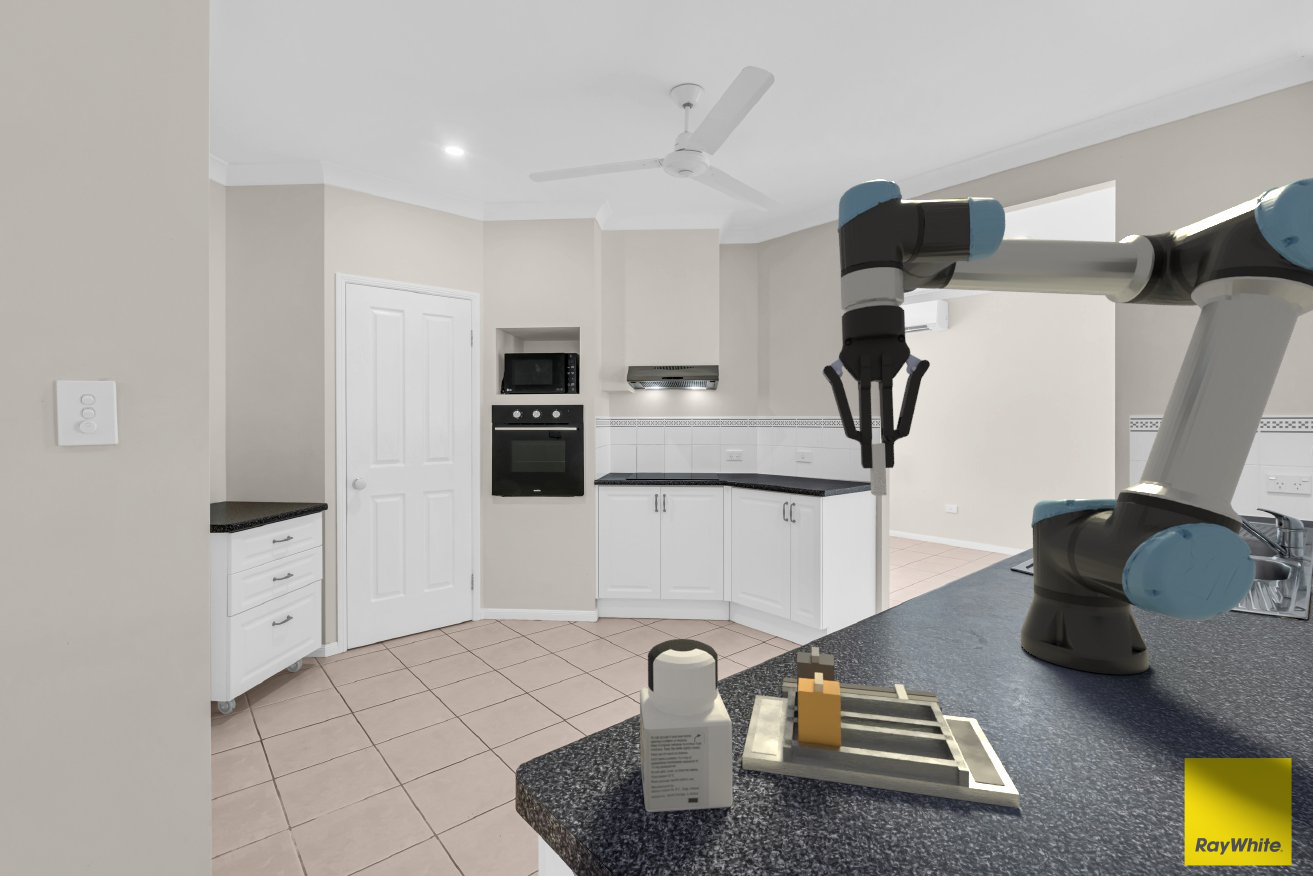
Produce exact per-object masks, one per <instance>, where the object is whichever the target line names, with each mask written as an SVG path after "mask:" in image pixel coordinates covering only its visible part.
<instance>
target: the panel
mask: <svg viewBox="0 0 1313 876" xmlns="http://www.w3.org/2000/svg"><path fill="white" fill-rule="evenodd" d="M840 695H841V746H834V745H827V744H819V743H811V742H803V741H799V729H798V706H797V688H791V687H789V692H788V698H782V697H779V696H768V695H760V694H756V695H755V698H754V704H753V708H752V713H751V717H750V721H749V726H748V729H747V730H748V731H747V735H746V739H745V744H744V749H743V753H742V769H743V770H749V771H755V772H756V771H757V772H763V773H769V774H776V775H783V776H791V777H798V778H803V779H804V778H806V779H812V780H819V781H825V782H826V781H827V782H832V783H840V784H848V785H855V786H859V787H860V786H861V787H868V788H877V789H883V790H888V791H890V790H891V791H897V792H901V793H902V792H903V793H904V792H905V793H910V794H917V795H918V794H919V795H925V796H932V797H936V798H937V797H939V798H946V799H952V800H959V801H966V802H973V803H981V804H988V805H993V806H994V805H996V806H1003V807H1009V808H1016V809H1020V793H1019V791H1018V789H1017V788H1016V785H1014V782H1013V781H1012V778H1011V777H1010V776H1009V773H1007V771H1006V769H1005V767H1004V766H1003V763H1002V762H1001V760H1000V759H999V756H998V755H997V753H996V752H995V750H994V749H993V746H992V745H991V744H990V742H989V740H988V738H987V737H986V736H987V735H986V734H985V733H984V731H983V729H982V728H981V726H980V724H979V722H978V720H977V719H976V718H972V717H964V716H954V715H953V716H952V715H945V714H943V711H942V712H941V710H940V708H939V706H938V704H937V702H928V701H918V700H908V699H898V698H889V697H879V696H869V695H859V694H850V693H840Z"/></svg>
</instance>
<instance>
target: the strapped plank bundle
mask: <svg viewBox="0 0 1313 876" xmlns="http://www.w3.org/2000/svg"><path fill="white" fill-rule="evenodd" d="M782 681H783V682H782V690H781V694H782V696H781V698H788V692H789V687H791V688H797V678H793V677H783V680H782ZM839 686H840V693H850V694H859V695H869V696H879V697H889V698H898V699H908V700H918V701H928V702H937V704H938V706H939V708H940V710H941V712H942V713H943V707H942V705H941V703H940V701H939V699H938V697H937V695H936V693H935V691H926V690H925V691H924V690H917V689H916V690H913V689H906V688H905V686H904V684H901V683H900V684H899V683H894V684H893V686H894V688H893V687H887V686H885V687H884V686H874V685H863V684H852V683H844V682H839Z"/></svg>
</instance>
